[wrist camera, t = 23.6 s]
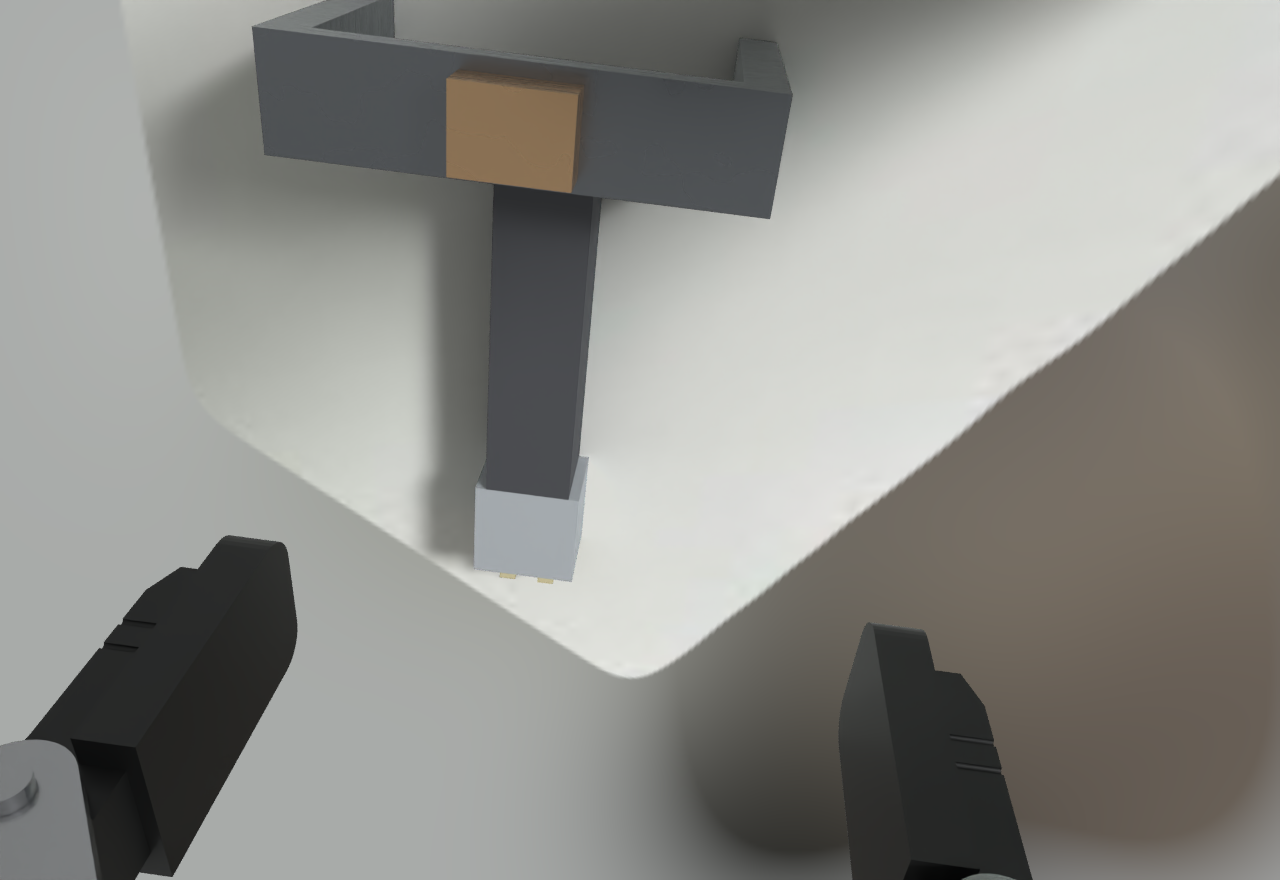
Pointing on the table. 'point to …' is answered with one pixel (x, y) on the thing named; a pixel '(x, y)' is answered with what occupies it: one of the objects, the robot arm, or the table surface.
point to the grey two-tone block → (536, 383)
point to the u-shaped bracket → (519, 114)
